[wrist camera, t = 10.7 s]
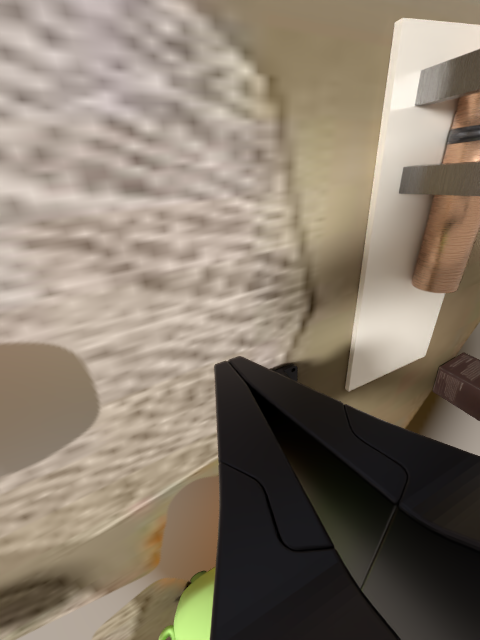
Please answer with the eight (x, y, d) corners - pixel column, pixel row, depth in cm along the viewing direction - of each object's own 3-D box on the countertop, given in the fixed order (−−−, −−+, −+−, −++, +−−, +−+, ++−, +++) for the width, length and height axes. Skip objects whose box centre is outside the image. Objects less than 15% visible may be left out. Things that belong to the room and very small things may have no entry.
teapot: (287, 516, 43) (344, 625, 33) (278, 560, 50) (323, 662, 39) (148, 587, 35) (164, 763, 24) (159, 628, 42) (176, 780, 31)
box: (430, 391, 45) (479, 423, 39) (437, 365, 42) (491, 395, 36) (454, 376, 47) (505, 404, 41) (463, 350, 44) (519, 377, 38)
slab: (421, 353, 38) (425, 355, 37) (345, 388, 34) (348, 391, 33) (519, 33, 21) (529, 29, 21) (394, 22, 17) (403, 17, 17)
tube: (420, 275, 30) (464, 284, 27) (404, 286, 28) (450, 297, 25) (478, 61, 21) (553, 40, 18) (461, 52, 19) (544, 27, 16)
